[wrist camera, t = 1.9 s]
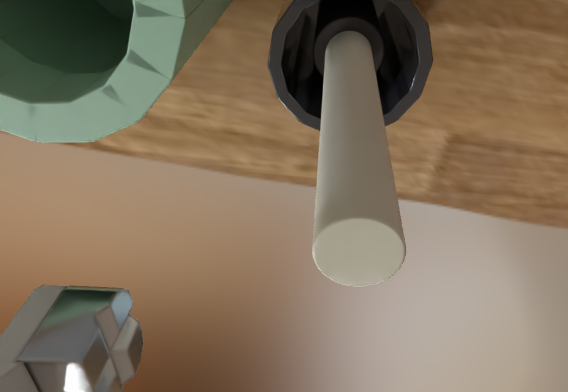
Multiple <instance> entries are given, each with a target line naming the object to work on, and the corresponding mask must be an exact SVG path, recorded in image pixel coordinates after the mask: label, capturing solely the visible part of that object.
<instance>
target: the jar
mask: <svg viewBox="0 0 568 392" xmlns="http://www.w3.org/2000/svg"><path fill="white" fill-rule="evenodd" d="M231 2H232V0H0V130H2V131H5V132H8V133H11V134H14V135H17V136H20V137H23V138H26V139H29V140H32V141H35V142H37V141H38V142H91V141H92V142H94V141H97V140H99V139H101V138H103V137H106V136H108V135H110V134H112V133H114V132H117V131H119V130H121V129H123V128H126V127H128V126H130V125H132V124H135V123H137V122H138V121H140V120H141V119H142V118H143V116H144V115H145V114H146V113H147V111H148V110H149V109H150V108H151V106H152V105H153V104H154V103H155V101H156V100H157V99H158V98H159V97H160V95H161V94H162V93H163V92H164V90H165V89H166V88H167V87H168V85H169V84H170V83H171V82H172V80H173V79H174V78H175V76H176V75H177V74H178V72H179V71H180V70H181V68H182V67H183V66H184V64H185V63H186V62H187V60H188V59H189V58H190V56H191V55H192V54H193V52H194V51H195V50H196V48H197V47H198V46H199V44H200V43H201V42H202V40H203V39H204V38H205V36H206V35H207V34H208V32H209V31H210V30H211V28H212V27H213V26H214V24H215V23H216V22H217V20H218V19H219V18H220V16H221V15H222V14H223V12H224V11H225V10H226V8H227V7H228V6H229V4H230V3H231Z"/></svg>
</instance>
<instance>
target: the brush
mask: <svg viewBox="0 0 568 392" xmlns="http://www.w3.org/2000/svg"><path fill="white" fill-rule="evenodd" d="M383 57H384V42H383V38H382V34H381V30H380V26H379V22H378V18H377V14H376V10H375V7H374V5H373V3H372V1H371V0H324V1H323V3H322V4H321V6H320V8H319V11H318V16H317V23H316V30H315V38H314V45H313V59H314V63H315V66H316V68H317V70H318V71H319V73H320V74H321V75H322V76H323V77H324V82H323V97H322V112H321V127H320V143H319V158H318V173H317V188H316V204H315V219H314V234H313V250H312V252H313V258H314V261H315V263H316V265H317V266H318V268H319V270H321V272H322V273H323V274H324V275H326V276H327V277H328V278H330V279H331V280H333V281H335V282H338V283H340V284H343V285H347V286H356V287H361V286H370V285H375V284H378V283H381V282H383V281H385V280H387V279H389V278H390V277H391V276H393V275H394V274H395V273H396V272H397V271H398V270H399V268H400V267H401V265H402V264H403V262H404V259H405V255H406V245H405V239H404V234H403V228H402V222H401V216H400V211H399V205H398V199H397V193H396V188H395V182H394V176H393V170H392V165H391V159H390V153H389V148H388V142H387V136H386V130H385V125H384V119H383V113H382V107H381V102H380V96H379V90H378V84H377V79H376V72H377V71H378V69H379V67H380V66H381V63H382V61H383Z"/></svg>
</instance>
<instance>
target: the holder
mask: <svg viewBox="0 0 568 392" xmlns="http://www.w3.org/2000/svg"><path fill="white" fill-rule="evenodd" d="M323 1H324V0H284V3H283V5H282V8H281V11H280V13H279V16H278V18H277V21H276V24H275V26H274V29H273V32H272V39H271V45H270V52H269V58H268V69H269V72H270V75H271V78H272V82H273V85H274V88H275V91H276V95H277V97H278V99H279V100H280V101H281V102H282V103H283V104H284V106H285V107H286V108H287V109H288V110H289V111H290V112H291V113H292V114H293V115H294V116H295V117H296V119H297V120H298V121H299V122H301V123H302V124H305V125H307V126H310V127H312V128H314V129H317V130H319V131H320V127H321V112H322V97H323V82H324V77H323V76H322V75H321V74H320V73H319V71H318V70H317V68H316V66H315V63H314V59H313V45H314V38H315V30H316V23H317V16H318V11H319V8H320V6H321V4H322V3H323ZM371 1H372V3H373V5H374V7H375V10H376V14H377V18H378V22H379V26H380V30H381V34H382V38H383V42H384V57H383V61H382V63H381V66H380V67H379V69H378V71H377V72H376V79H377V84H378V90H379V96H380V102H381V107H382V113H383V119H384V125H385V126H387V125H389V124H392V123H394V122H396V121H397V120H398V119H399V118H400V117H401V116H402V115H403V114H404V113H405V112H406V111H407V110H408V109H409V108H410V107H411V106H412V105H413V104H414V103H415V101H416V100H417V99H418V98H419V97H420V95H421V94H422V92H423V89H424V86H425V83H426V80H427V77H428V75H429V72H430V69H431V66H432V63H433V62H432V61H433V55H432V47H431V40H430V32H429V25H428V23H427V21H426V19H425V17H424V16H423V14H422V12H421V10H420V8H419V6H418V5H417V3H416V1H415V0H371Z"/></svg>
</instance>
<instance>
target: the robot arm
mask: <svg viewBox="0 0 568 392" xmlns="http://www.w3.org/2000/svg"><path fill="white" fill-rule="evenodd" d="M132 306H133V301H132V298H131V296H130V293H129V290H126V289H123V288H107V287H88V286H58V285H41V286H40V287H38V288H36V289H34V291H33V292H32V293H31V295H30V296H29V297H28V299H27V300H26V301H25V303H24V304H23V306H22V307H21V308H20V310H19V311H18V313H17V314H16V315H15V317H14V318H13V319H12V321H11V322H10V323H9V325H8V326H7V328H6V329H5V330H4V332H3V333H2V334H1V336H0V392H124V391H123V389H122V385H123V384H125V383H126V382H127V381H128V380H129V379H131V378H132V377H133V376H134V375H135V373H136V371H137V368H138V365H139V363H140V359H141V353H142V346H143V338H142V330H141V326H140V323H139V321H137V320H136V319H135V318H134V317H133V316H132V315H130V314H129V313H130V310H131V309H132Z"/></svg>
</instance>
